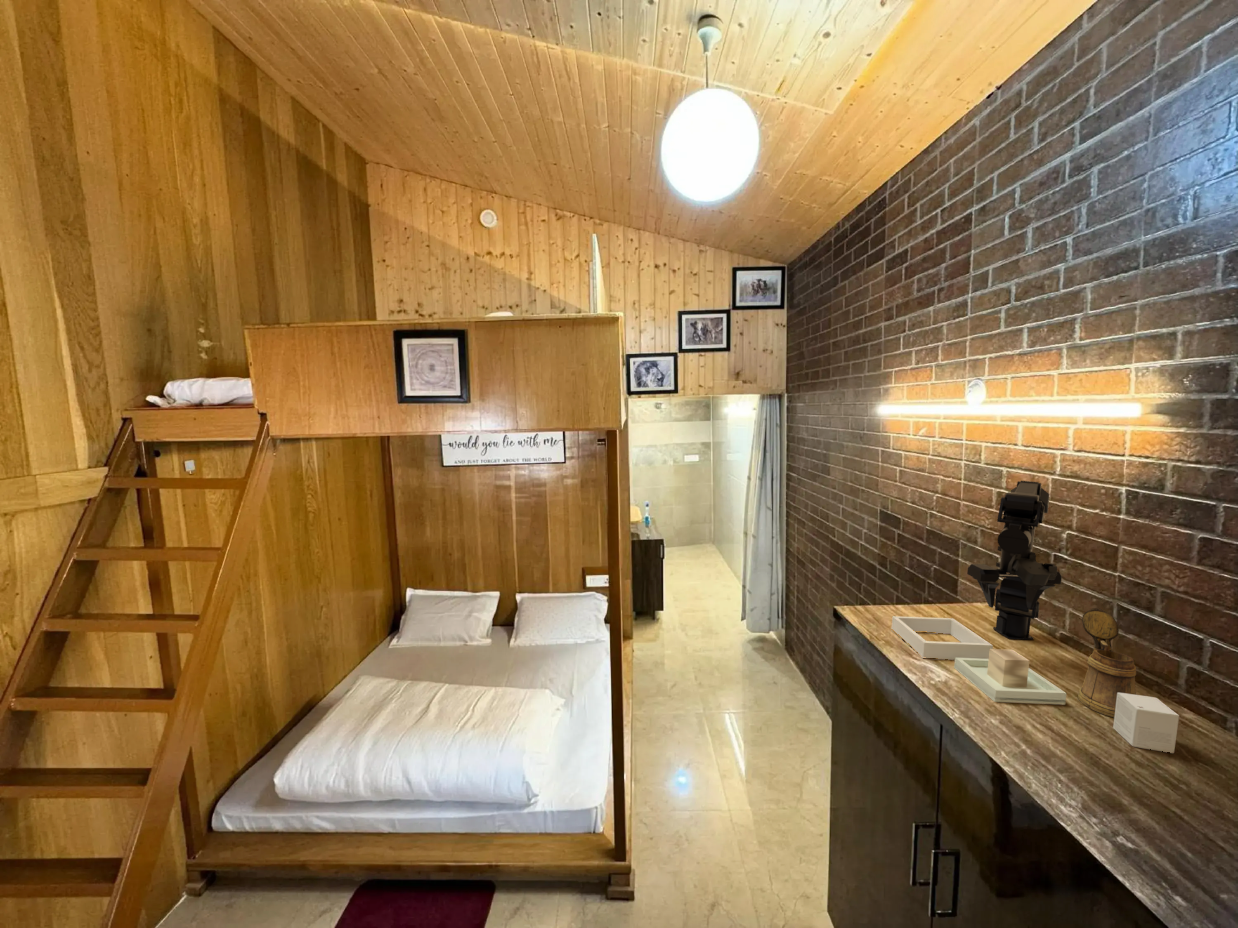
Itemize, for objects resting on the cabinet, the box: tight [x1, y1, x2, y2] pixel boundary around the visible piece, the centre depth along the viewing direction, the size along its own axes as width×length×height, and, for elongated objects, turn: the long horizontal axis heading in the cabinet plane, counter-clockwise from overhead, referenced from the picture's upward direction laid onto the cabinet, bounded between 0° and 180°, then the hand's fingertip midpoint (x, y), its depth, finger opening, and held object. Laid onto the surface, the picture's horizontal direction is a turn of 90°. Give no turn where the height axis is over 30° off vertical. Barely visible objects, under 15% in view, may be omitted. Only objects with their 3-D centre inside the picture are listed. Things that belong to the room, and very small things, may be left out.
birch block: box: [987, 648, 1030, 687], centre depth 112 cm, size 5×5×6 cm
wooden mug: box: [1077, 606, 1137, 718], centre depth 106 cm, size 9×14×18 cm, turn 157°
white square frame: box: [891, 615, 994, 661], centre depth 132 cm, size 16×16×4 cm
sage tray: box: [953, 658, 1067, 706], centre depth 113 cm, size 14×14×2 cm
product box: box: [1112, 693, 1180, 754], centre depth 94 cm, size 6×6×7 cm
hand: (1010, 607), depth 126 cm, fingers open, 9 cm apart
